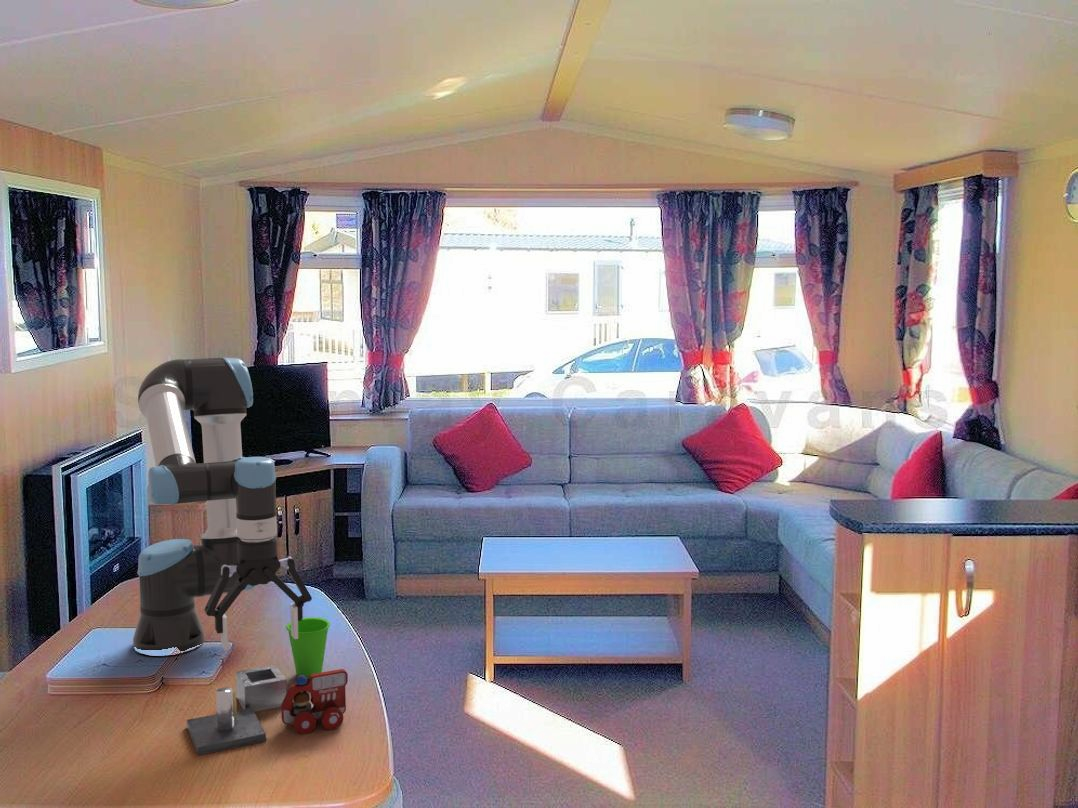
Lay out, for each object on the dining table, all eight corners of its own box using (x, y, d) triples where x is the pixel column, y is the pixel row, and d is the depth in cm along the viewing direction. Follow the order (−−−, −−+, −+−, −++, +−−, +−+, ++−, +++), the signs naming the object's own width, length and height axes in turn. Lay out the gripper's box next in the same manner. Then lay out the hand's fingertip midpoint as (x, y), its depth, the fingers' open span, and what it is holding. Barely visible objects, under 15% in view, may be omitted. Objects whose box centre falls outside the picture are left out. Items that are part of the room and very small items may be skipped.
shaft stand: (186, 727, 191) (185, 684, 190) (251, 714, 197) (250, 673, 196) (197, 755, 181) (196, 710, 180) (266, 741, 187) (264, 697, 185)
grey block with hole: (236, 697, 204) (236, 671, 204) (276, 690, 208) (276, 664, 207) (245, 713, 197) (244, 686, 197) (286, 705, 201) (286, 679, 200)
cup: (320, 685, 211) (319, 634, 209) (279, 680, 213) (278, 630, 211) (337, 668, 220) (336, 619, 218) (298, 664, 221) (297, 615, 220)
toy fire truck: (279, 722, 194) (277, 670, 193) (343, 712, 199) (343, 661, 198) (284, 738, 188) (283, 684, 186) (351, 727, 193) (350, 674, 191)
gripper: (193, 550, 189) (197, 659, 192) (325, 534, 200) (327, 638, 203) (186, 540, 195) (191, 646, 198) (315, 525, 207) (317, 626, 210)
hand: (260, 642), depth 201 cm, fingers open, 13 cm apart
